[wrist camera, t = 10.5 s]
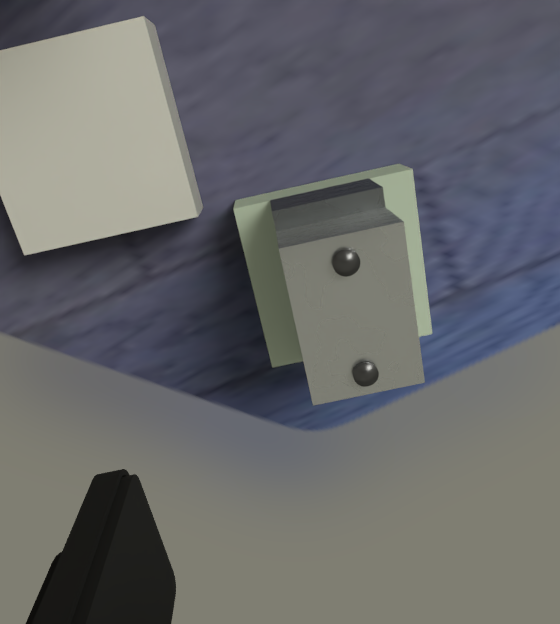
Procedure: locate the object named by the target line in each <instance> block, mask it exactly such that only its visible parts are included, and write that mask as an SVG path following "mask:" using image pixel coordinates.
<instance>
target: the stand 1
mask: <svg viewBox="0 0 560 624" xmlns="http://www.w3.org/2000/svg"><path fill="white" fill-rule="evenodd" d="M0 196H1V198H2V201H3V203H4V206H5V208H6V211H7V213H8V216H9V218H10V221H11V223H12V226H13V228H14V231H15V233H16V236H17V238H18V241H19V243H20V246H21V248H22V251H23V253H24V255H29V254H33V253H38V252H42V251H47V250H51V249H56V248H60V247H65V246H69V245H74V244H78V243H83V242H87V241H92V240H96V239H101V238H105V237H110V236H114V235H119V234H123V233H128V232H132V231H137V230H141V229H146V228H150V227H155V226H159V225H164V224H168V223H173V222H177V221H182V220H186V219H190V218H195V217H198V216H199V214H200V212H201V210H202V209H203V205H202V201H201V197H200V194H199V190H198V186H197V182H196V179H195V175H194V171H193V167H192V164H191V160H190V156H189V152H188V148H187V145H186V141H185V137H184V133H183V130H182V126H181V122H180V118H179V115H178V111H177V107H176V103H175V100H174V96H173V92H172V88H171V85H170V81H169V77H168V73H167V69H166V66H165V62H164V58H163V54H162V51H161V47H160V43H159V39H158V36H157V32H156V28H155V25H154V24H153V23H151V22H150V21H149V20H148V19H147V18H145V17H144V16H142V17H138V18H134V19H130V20H126V21H121V22H117V23H113V24H109V25H105V26H100V27H96V28H92V29H88V30H84V31H80V32H75V33H71V34H67V35H63V36H59V37H54V38H50V39H46V40H42V41H38V42H33V43H29V44H25V45H21V46H17V47H12V48H8V49H4V50H0Z"/></svg>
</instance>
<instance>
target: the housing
mask: <svg viewBox="0 0 560 624" xmlns="http://www.w3.org/2000/svg"><path fill="white" fill-rule="evenodd" d="M270 203H271V210H272V215H273V220H274V224H275V229H276V234H277V241H278V248H279V253H280V257H281V262H282V266H283V271H284V275H285V280H286V284H287V289H288V293H289V298H290V303H291V307H292V312H293V316H294V321H295V325H296V330H297V334H298V339H299V344H300V348H301V353H302V357H303V362H304V366H305V371H306V375H307V380H308V385H309V389H310V394H311V398H312V403H313V405H318V404H323V403H328V402H332V401H337V400H342V399H347V398H352V397H357V396H361V395H366V394H371V393H376V392H381V391H386V390H391V389H395V388H400V387H405V386H410V385H415V384H420V383H424V382H425V381H424V373H423V365H422V358H421V350H420V342H419V334H418V327H417V319H416V311H415V304H414V296H413V288H412V281H411V273H410V265H409V257H408V250H407V242H406V234H405V227H404V221H403V220H401V219H400V218H399V217H397V216H396V215H395V214H394V213H392V212H391V211H390V210H388V209H387V208H386V207H385V200H384V193H383V187H382V186H380V185H379V184H377V183H375V182H374V181H372V180H371V179H369V178H368V179H363V180H359V181H354V182H350V183H345V184H341V185H336V186H332V187H327V188H323V189H318V190H314V191H309V192H305V193H300V194H296V195H291V196H286V197H282V198H277V199H273V200H270Z"/></svg>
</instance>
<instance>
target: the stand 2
mask: <svg viewBox="0 0 560 624" xmlns="http://www.w3.org/2000/svg"><path fill="white" fill-rule="evenodd" d="M368 178H369V179H371V180H372V181H374V182H375V183H377V184H379V185H380V186H382V187H383V193H384V200H385V207H386V208H387V209H388V210H390V211H391V212H392V213H394V214H395V215H396V216H397V217H399V218H400V219H401V220H403V221H404V227H405V234H406V242H407V250H408V257H409V265H410V273H411V281H412V288H413V296H414V304H415V311H416V319H417V327H418V334H419V337H420V336H425V335H430V334H432V327H431V319H430V310H429V302H428V294H427V286H426V277H425V269H424V261H423V252H422V244H421V236H420V227H419V219H418V211H417V203H416V194H415V186H414V178H413V169H411V168H409V167H406V166H403V165H401V164H395V165H391V166H386V167H382V168H377V169H373V170H368V171H364V172H359V173H355V174H350V175H346V176H341V177H337V178H333V179H328V180H324V181H319V182H315V183H310V184H306V185H301V186H297V187H292V188H288V189H283V190H279V191H274V192H270V193H265V194H261V195H256V196H252V197H248V198H243V199H239V200H235V204H234V208H233V210H234V214H235V218H236V222H237V226H238V230H239V234H240V238H241V242H242V246H243V251H244V255H245V259H246V263H247V267H248V271H249V275H250V279H251V283H252V287H253V291H254V295H255V299H256V303H257V308H258V312H259V316H260V320H261V324H262V328H263V332H264V336H265V340H266V344H267V348H268V352H269V356H270V361H271V365H272V368H273V367H278V366H282V365H287V364H292V363H297V362H301V361H303V357H302V353H301V348H300V344H299V339H298V334H297V330H296V325H295V321H294V316H293V312H292V307H291V303H290V298H289V293H288V289H287V284H286V280H285V275H284V271H283V266H282V262H281V257H280V253H279V248H278V241H277V234H276V229H275V224H274V220H273V215H272V210H271V203H270V200H273V199H277V198H282V197H286V196H291V195H296V194H300V193H305V192H309V191H314V190H318V189H323V188H327V187H332V186H336V185H341V184H345V183H350V182H354V181H359V180H363V179H368Z"/></svg>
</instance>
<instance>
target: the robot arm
mask: <svg viewBox="0 0 560 624" xmlns="http://www.w3.org/2000/svg"><path fill="white" fill-rule="evenodd" d="M175 594H176V582H175V576H174V572H173V569H172V567H171V564H170V562H169V559H168V556H167V553H166V550H165V548H164V545H163V542H162V540H161V537H160V534H159V531H158V529H157V526H156V523H155V521H154V518H153V515H152V512H151V510H150V507H149V504H148V501H147V499H146V496H145V493H144V491H143V488H142V485H141V483H140V480H139V478H138V476H137V475H129V473H128V472H127V471H126V470H125V469H122V470H117V471H112V472H107V473H102V474H97V475H96V476H94V478H93V480H92V482H91V485H90V487H89V490H88V492H87V494H86V497H85V499H84V501H83V504H82V506H81V508H80V511H79V513H78V515H77V518H76V521H75V523H74V525H73V527H72V530H71V532H70V534H69V537H68V539H67V542H66V544H65V547H64V549H63V551H62V552H61V553H59V554H58V555H57V556H56V557H55V559H54V561H53V562H52V564H51V567H50V569H49V571H48V574H47V576H46V578H45V581H44V583H43V585H42V587H41V590H40V592H39V594H38V597H37V599H36V601H35V603H34V606H33V608H32V611H31V613H30V615H29V617H28V620H27V622H26V624H171V620H172V614H173V608H174V601H175Z"/></svg>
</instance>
